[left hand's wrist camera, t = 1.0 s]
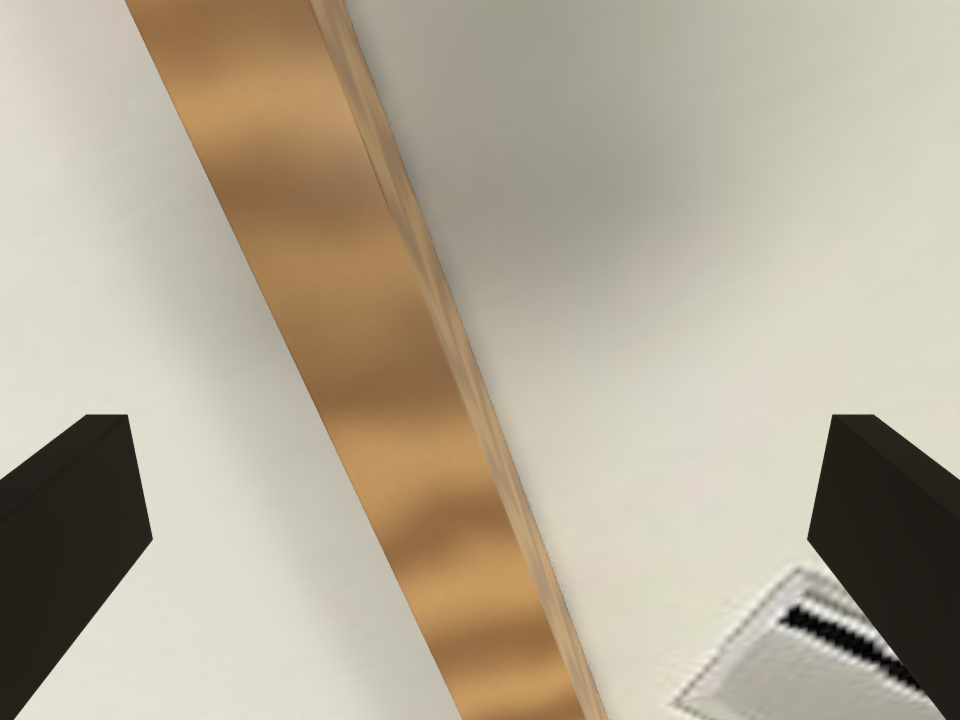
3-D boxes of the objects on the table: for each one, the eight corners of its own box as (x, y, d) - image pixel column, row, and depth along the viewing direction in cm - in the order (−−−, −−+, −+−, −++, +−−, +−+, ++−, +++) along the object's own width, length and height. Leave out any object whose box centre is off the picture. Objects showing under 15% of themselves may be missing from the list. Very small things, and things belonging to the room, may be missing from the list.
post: (123, -190, 25) (-27, -320, 17) (251, -248, 24) (153, -407, 17) (603, 922, 47) (627, 1070, 40) (677, 906, 47) (713, 1053, 39)
